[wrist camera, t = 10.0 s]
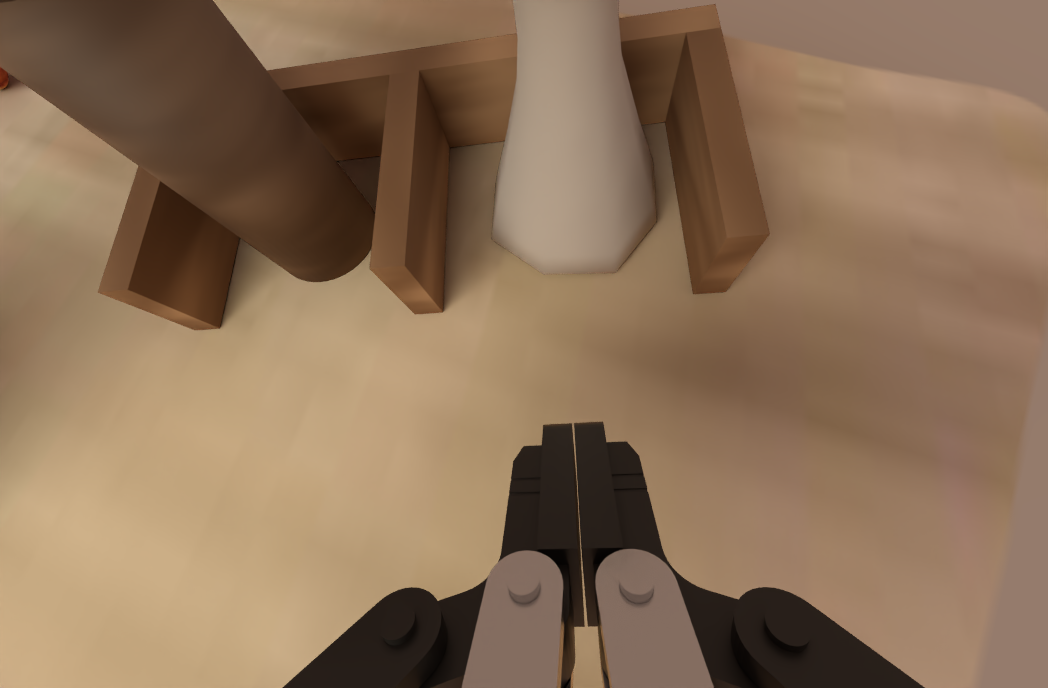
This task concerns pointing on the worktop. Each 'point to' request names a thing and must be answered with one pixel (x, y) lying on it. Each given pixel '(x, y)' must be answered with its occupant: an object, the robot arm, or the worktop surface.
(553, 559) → the robot arm
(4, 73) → the onion
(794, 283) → the worktop surface
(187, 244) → the rack
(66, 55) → the pepper mill
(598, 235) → the flask
